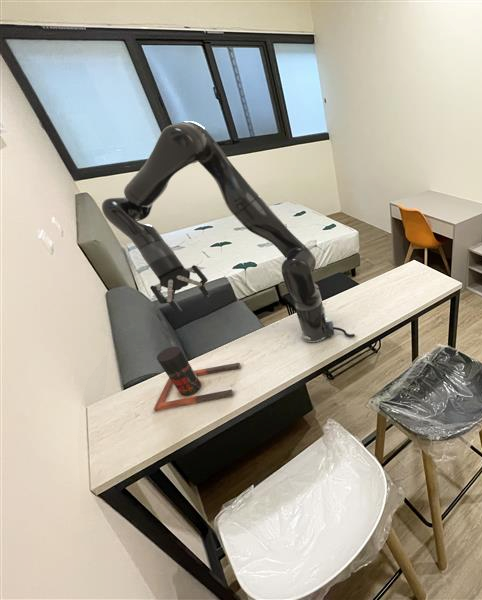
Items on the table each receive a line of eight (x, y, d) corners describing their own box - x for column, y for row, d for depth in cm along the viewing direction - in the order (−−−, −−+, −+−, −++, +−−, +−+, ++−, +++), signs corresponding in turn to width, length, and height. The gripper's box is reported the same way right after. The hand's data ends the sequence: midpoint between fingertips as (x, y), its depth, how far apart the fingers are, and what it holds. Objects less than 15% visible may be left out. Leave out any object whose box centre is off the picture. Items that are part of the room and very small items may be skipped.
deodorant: (176, 391, 100) (152, 356, 91) (195, 378, 104) (174, 344, 95) (186, 399, 97) (163, 364, 88) (205, 386, 101) (184, 351, 92)
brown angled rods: (240, 365, 108) (239, 362, 107) (232, 396, 97) (230, 393, 96) (171, 378, 104) (169, 375, 104) (155, 411, 94) (152, 408, 93)
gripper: (132, 269, 92) (167, 317, 96) (181, 246, 97) (214, 292, 100) (141, 271, 99) (174, 315, 103) (187, 249, 104) (218, 292, 107)
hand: (194, 304), depth 101 cm, fingers open, 8 cm apart
